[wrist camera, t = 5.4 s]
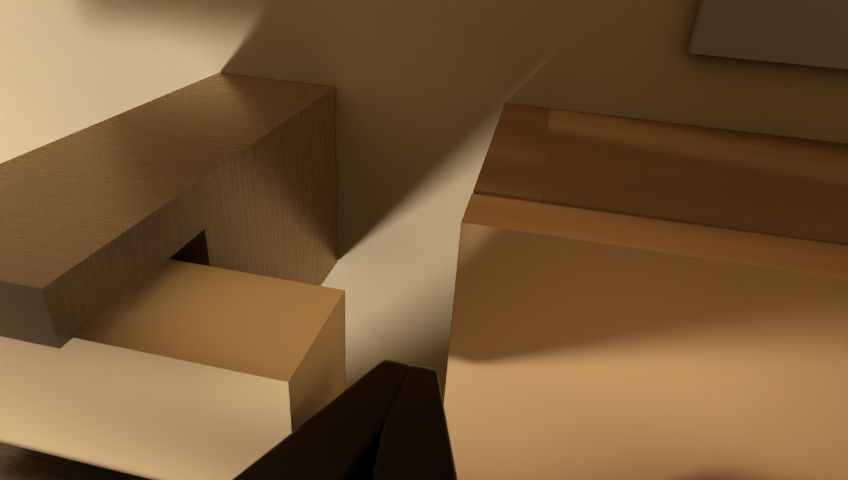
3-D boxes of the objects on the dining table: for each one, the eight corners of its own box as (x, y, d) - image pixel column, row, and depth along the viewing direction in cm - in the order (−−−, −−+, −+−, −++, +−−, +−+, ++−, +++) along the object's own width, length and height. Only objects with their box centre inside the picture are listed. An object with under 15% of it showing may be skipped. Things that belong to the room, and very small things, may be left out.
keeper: (337, 261, 16) (126, 566, 8) (236, 244, 17) (-51, 518, 9) (335, 87, 14) (41, 288, 6) (217, 73, 14) (-191, 243, 7)
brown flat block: (766, 583, 18) (827, 786, 14) (452, 510, 20) (419, 671, 16) (1011, 163, 12) (1277, 305, 7) (505, 103, 13) (473, 190, 9)
